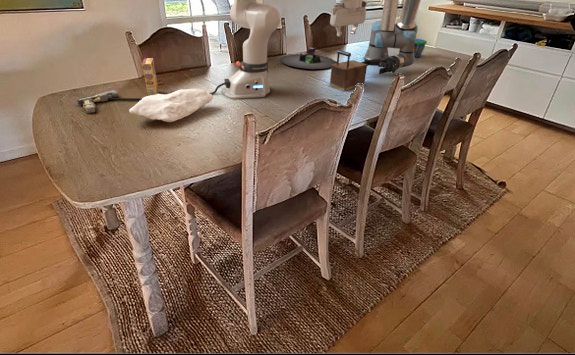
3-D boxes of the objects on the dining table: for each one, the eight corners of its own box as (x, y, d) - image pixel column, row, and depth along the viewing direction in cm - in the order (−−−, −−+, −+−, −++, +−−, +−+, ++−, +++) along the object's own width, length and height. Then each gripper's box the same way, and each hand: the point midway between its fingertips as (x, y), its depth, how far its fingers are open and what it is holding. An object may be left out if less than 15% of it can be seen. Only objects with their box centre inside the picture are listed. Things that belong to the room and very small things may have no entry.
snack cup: (416, 52, 253) (419, 37, 248) (428, 56, 246) (432, 40, 240) (401, 55, 246) (404, 39, 240) (413, 59, 238) (416, 43, 233)
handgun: (128, 97, 156) (111, 87, 164) (86, 107, 144) (70, 97, 152) (129, 103, 157) (113, 94, 165) (88, 114, 146) (72, 103, 154)
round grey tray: (348, 64, 220) (349, 48, 215) (302, 72, 202) (302, 55, 198) (313, 55, 244) (313, 41, 240) (269, 61, 227) (268, 46, 222)
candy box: (157, 97, 164) (152, 63, 155) (147, 98, 163) (141, 63, 155) (158, 91, 171) (153, 57, 163) (149, 91, 170) (143, 58, 162)
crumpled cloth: (117, 110, 146) (113, 90, 140) (195, 92, 166) (194, 73, 160) (143, 139, 134) (140, 118, 128) (223, 116, 154) (224, 96, 148)
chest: (343, 91, 181) (346, 71, 176) (329, 85, 187) (331, 66, 182) (364, 85, 189) (367, 66, 184) (350, 80, 196) (352, 61, 191)
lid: (344, 71, 175) (346, 54, 171) (330, 66, 182) (332, 50, 177) (367, 66, 184) (369, 50, 180) (352, 61, 190) (354, 46, 186)
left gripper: (338, 5, 157) (335, 38, 164) (369, 2, 168) (365, 34, 175) (328, 3, 161) (325, 36, 168) (359, 0, 172) (355, 31, 179)
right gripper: (411, 74, 199) (387, 81, 187) (375, 63, 215) (351, 69, 203) (414, 60, 195) (390, 66, 183) (377, 50, 211) (353, 55, 199)
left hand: (346, 35), depth 172 cm, fingers open, 8 cm apart
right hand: (369, 68), depth 193 cm, fingers open, 13 cm apart
